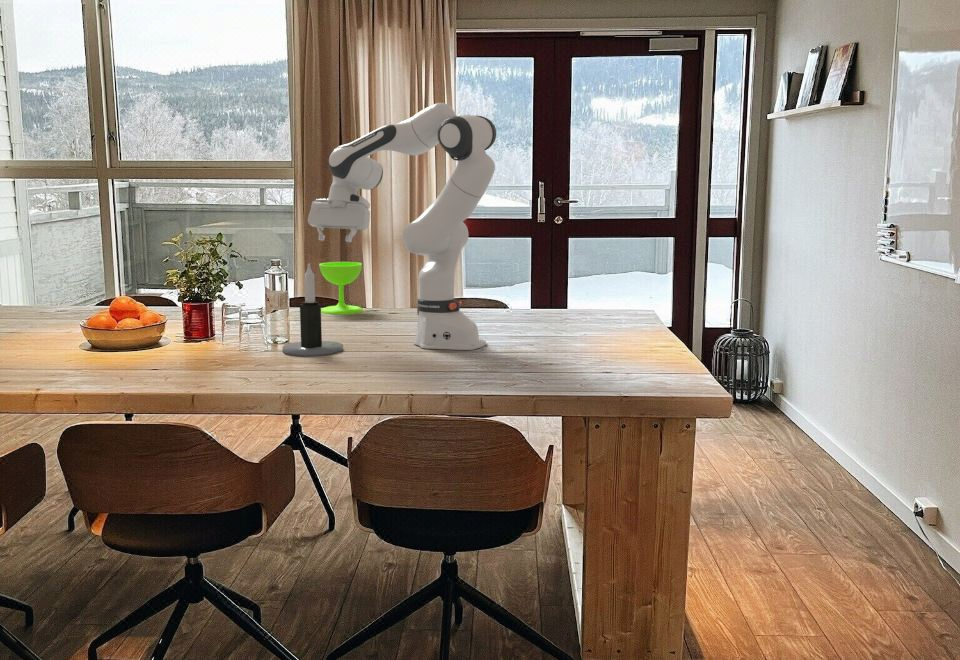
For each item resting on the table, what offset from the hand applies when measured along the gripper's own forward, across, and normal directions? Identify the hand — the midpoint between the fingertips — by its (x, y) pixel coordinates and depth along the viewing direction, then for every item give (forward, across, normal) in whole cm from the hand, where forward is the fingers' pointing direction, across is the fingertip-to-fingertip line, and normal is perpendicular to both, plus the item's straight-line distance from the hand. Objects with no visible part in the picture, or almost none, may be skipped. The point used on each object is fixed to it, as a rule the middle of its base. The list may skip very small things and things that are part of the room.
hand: (334, 240), depth 293 cm
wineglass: (+10, -22, +59) cm, 64 cm away
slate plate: (+37, +3, -7) cm, 38 cm away
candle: (+36, +3, -7) cm, 37 cm away
